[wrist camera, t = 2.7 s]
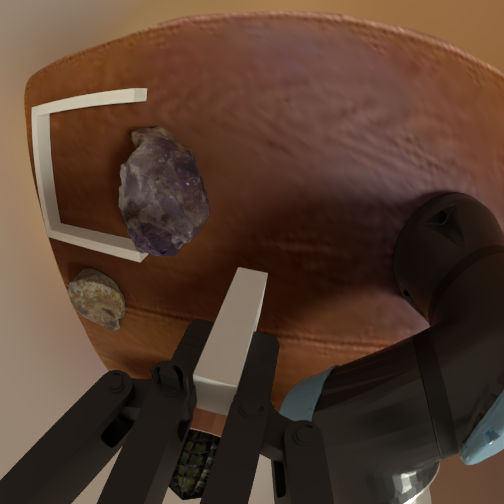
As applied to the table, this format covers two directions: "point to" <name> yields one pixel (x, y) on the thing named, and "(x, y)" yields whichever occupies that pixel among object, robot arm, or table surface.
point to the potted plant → (197, 454)
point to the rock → (161, 193)
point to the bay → (46, 180)
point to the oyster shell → (97, 298)
